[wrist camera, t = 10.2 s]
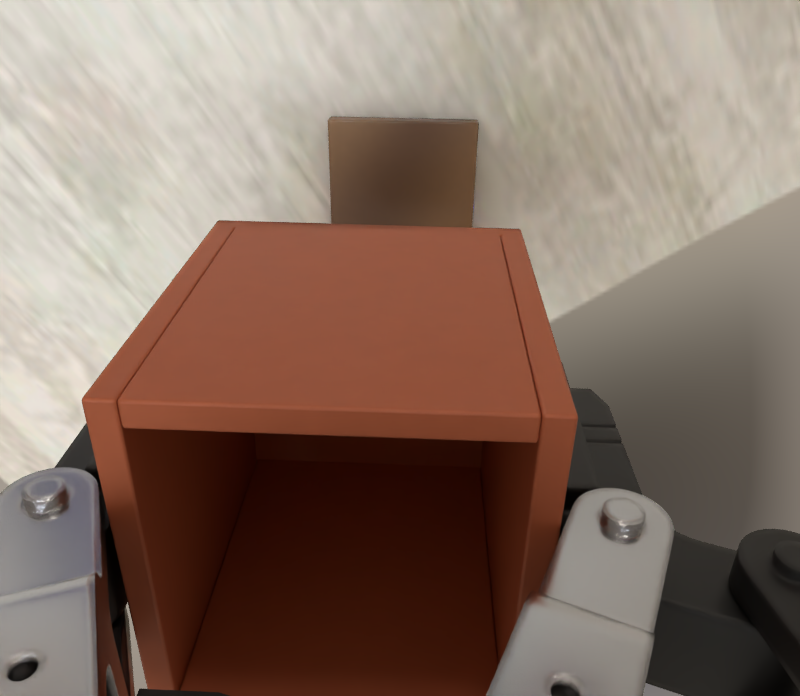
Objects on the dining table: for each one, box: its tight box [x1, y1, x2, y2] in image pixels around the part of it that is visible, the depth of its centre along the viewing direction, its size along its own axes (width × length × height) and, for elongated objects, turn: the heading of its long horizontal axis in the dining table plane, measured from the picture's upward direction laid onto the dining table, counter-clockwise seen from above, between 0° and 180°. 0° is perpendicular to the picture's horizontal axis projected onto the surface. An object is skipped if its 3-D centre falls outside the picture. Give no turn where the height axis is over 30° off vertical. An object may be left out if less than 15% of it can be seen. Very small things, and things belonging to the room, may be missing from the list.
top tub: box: [82, 221, 578, 696], centre depth 12 cm, size 6×6×6 cm
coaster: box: [328, 117, 479, 228], centre depth 31 cm, size 6×6×1 cm
